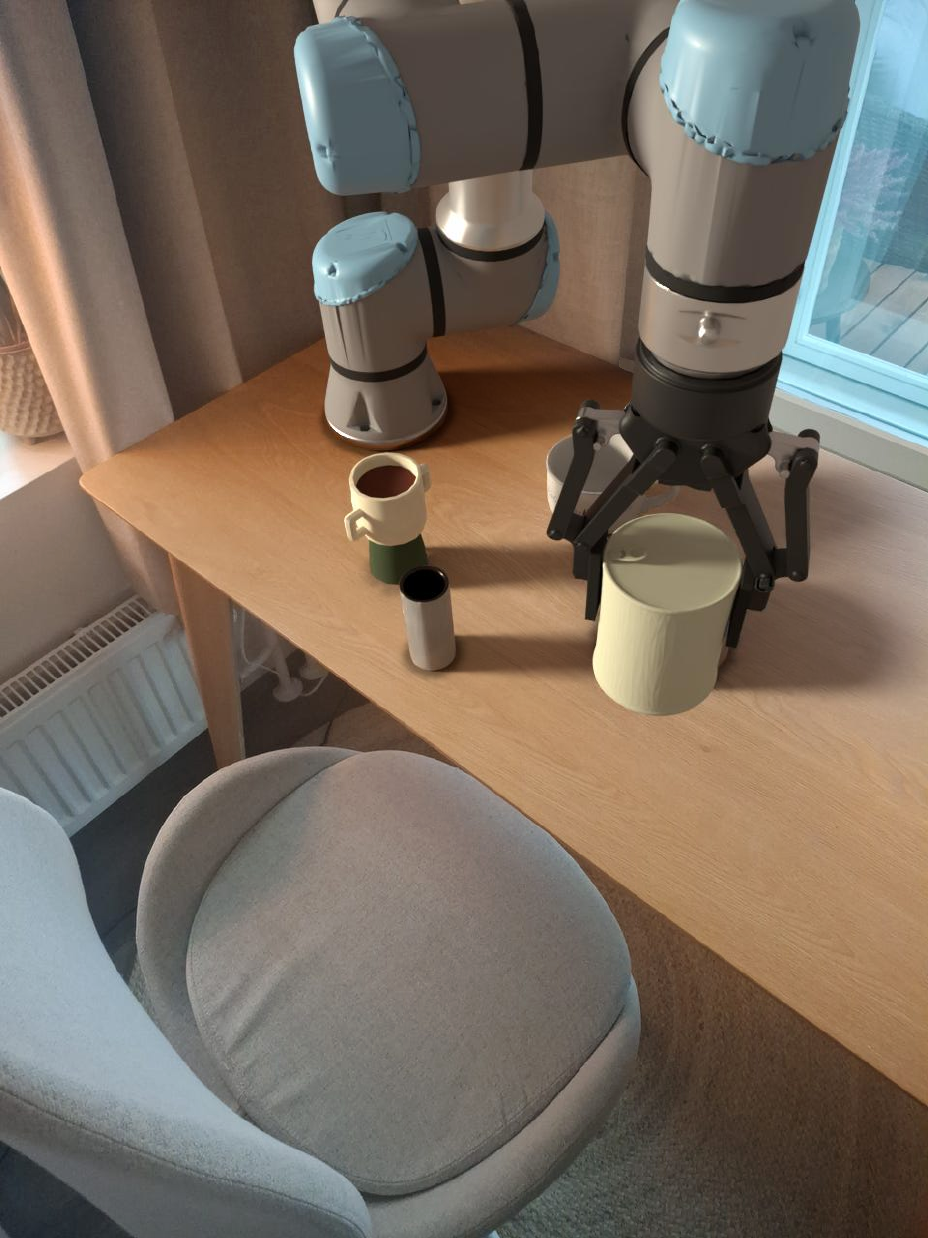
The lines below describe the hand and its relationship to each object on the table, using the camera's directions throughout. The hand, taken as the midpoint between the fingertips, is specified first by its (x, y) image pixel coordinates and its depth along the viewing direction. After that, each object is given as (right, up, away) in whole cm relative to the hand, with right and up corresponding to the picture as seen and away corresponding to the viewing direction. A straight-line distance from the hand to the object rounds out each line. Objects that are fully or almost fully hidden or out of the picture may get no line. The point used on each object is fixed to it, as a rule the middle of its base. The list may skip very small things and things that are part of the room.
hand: (662, 619), depth 64 cm
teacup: (+2, +11, +36) cm, 37 cm away
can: (0, -4, +4) cm, 6 cm away
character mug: (-21, +5, +33) cm, 39 cm away
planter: (-17, -3, +25) cm, 31 cm away
